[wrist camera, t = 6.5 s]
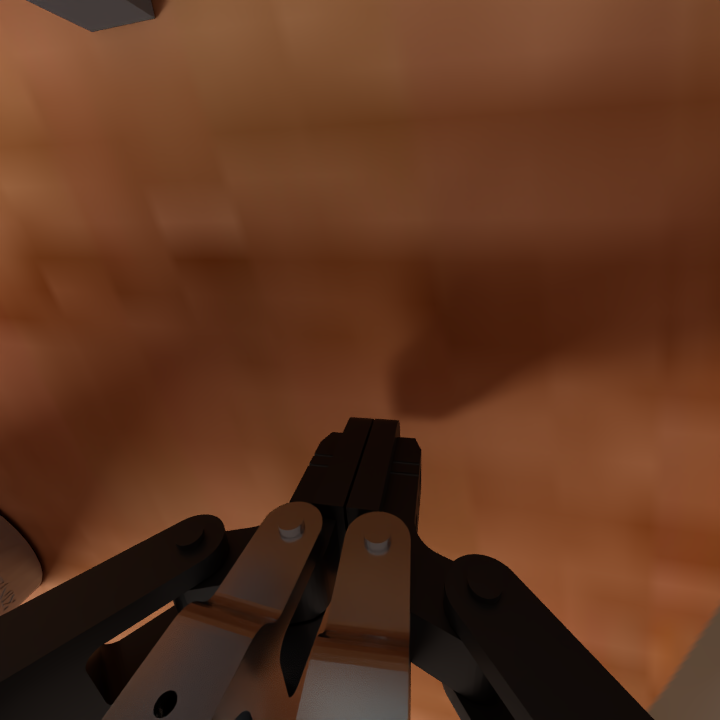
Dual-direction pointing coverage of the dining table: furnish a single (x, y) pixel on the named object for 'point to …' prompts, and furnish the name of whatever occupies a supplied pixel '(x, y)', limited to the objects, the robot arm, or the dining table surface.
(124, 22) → the bridge
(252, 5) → the dining table surface
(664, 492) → the dining table surface
